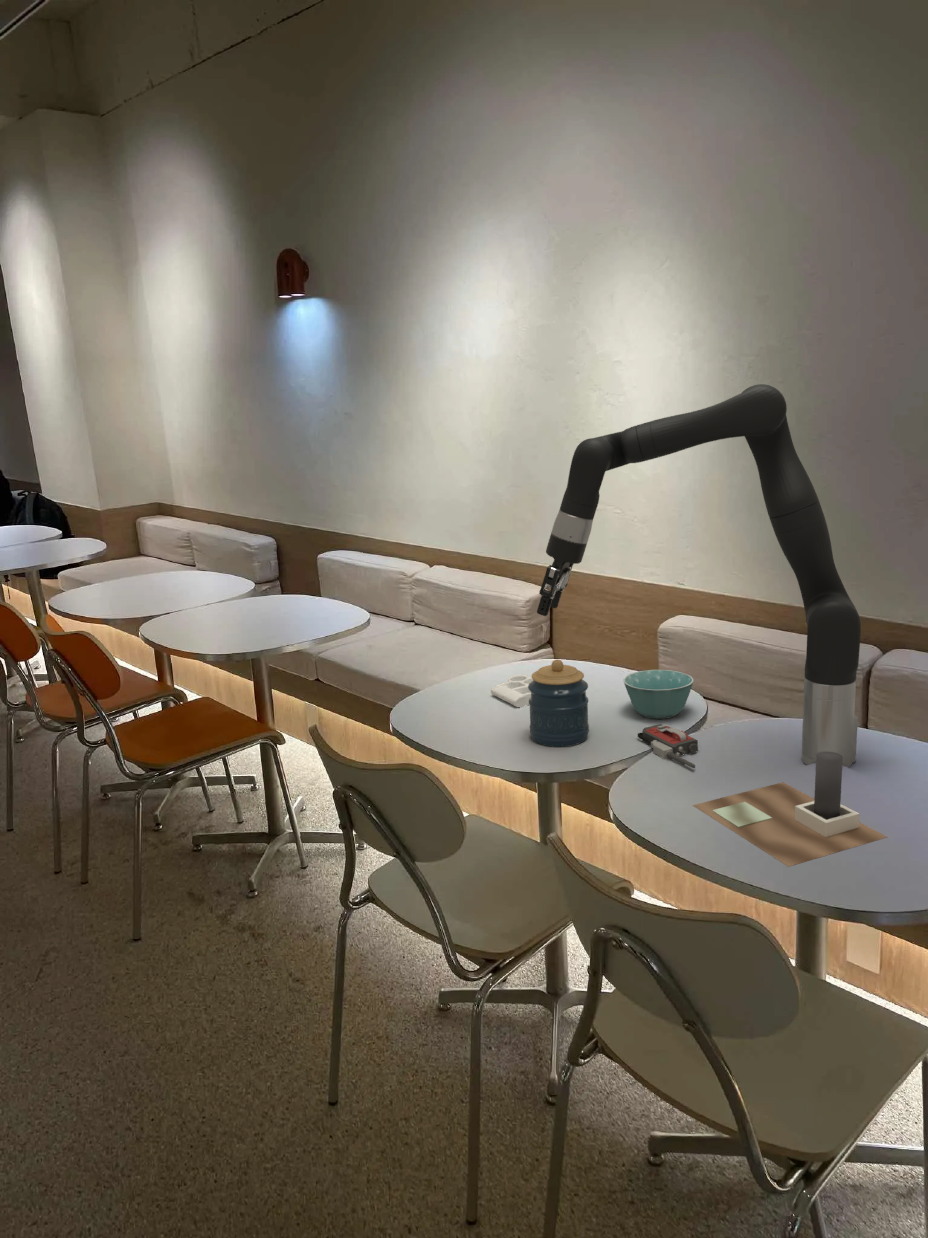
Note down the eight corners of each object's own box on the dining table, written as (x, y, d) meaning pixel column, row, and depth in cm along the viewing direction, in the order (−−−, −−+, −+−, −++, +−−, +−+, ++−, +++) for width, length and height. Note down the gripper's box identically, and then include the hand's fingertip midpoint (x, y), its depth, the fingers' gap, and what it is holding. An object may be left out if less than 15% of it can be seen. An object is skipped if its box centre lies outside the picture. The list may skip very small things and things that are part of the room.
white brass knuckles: (484, 694, 229) (532, 683, 236) (522, 714, 214) (573, 701, 221) (484, 682, 229) (532, 671, 235) (522, 700, 213) (572, 688, 220)
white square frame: (827, 810, 154) (827, 797, 153) (858, 827, 147) (859, 813, 147) (794, 819, 151) (795, 806, 151) (825, 837, 145) (826, 823, 144)
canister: (551, 752, 189) (548, 672, 185) (518, 734, 200) (515, 658, 196) (601, 739, 195) (599, 661, 191) (567, 722, 206) (565, 648, 202)
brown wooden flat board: (782, 789, 166) (783, 781, 166) (887, 845, 144) (887, 836, 144) (692, 813, 159) (692, 804, 158) (788, 875, 137) (788, 865, 137)
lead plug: (826, 816, 152) (829, 749, 149) (844, 825, 148) (848, 758, 145) (808, 821, 150) (810, 754, 148) (825, 831, 147) (829, 763, 144)
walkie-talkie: (628, 742, 193) (689, 774, 176) (628, 723, 192) (689, 753, 174) (661, 734, 197) (724, 764, 179) (661, 715, 196) (725, 744, 178)
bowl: (610, 715, 209) (609, 681, 207) (649, 697, 220) (649, 665, 218) (668, 729, 198) (668, 694, 196) (706, 710, 209) (706, 676, 207)
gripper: (579, 546, 173) (555, 623, 177) (594, 537, 186) (571, 610, 191) (543, 534, 175) (520, 611, 179) (560, 526, 188) (538, 598, 193)
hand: (546, 610), depth 185 cm, fingers open, 8 cm apart
